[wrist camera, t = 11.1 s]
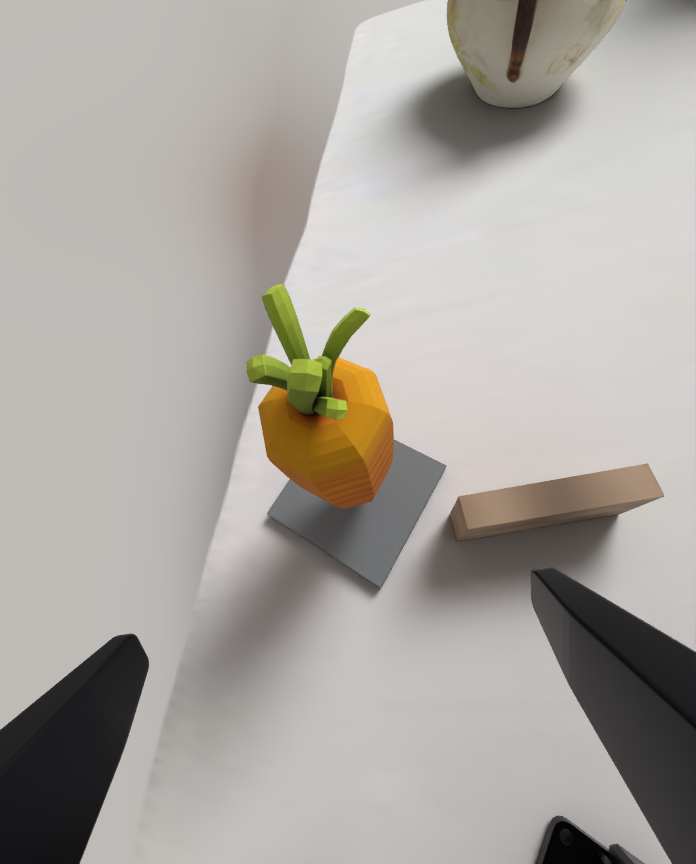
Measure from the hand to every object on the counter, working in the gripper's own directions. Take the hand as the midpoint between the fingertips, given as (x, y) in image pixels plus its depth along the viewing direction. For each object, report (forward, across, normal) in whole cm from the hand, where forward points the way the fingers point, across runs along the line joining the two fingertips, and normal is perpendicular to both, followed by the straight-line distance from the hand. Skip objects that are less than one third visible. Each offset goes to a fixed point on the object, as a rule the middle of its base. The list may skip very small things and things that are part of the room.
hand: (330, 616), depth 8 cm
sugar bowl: (+42, -23, -23) cm, 53 cm away
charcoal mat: (+14, 0, +5) cm, 15 cm away
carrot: (+14, 0, +5) cm, 14 cm away
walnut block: (+12, -10, +7) cm, 17 cm away
